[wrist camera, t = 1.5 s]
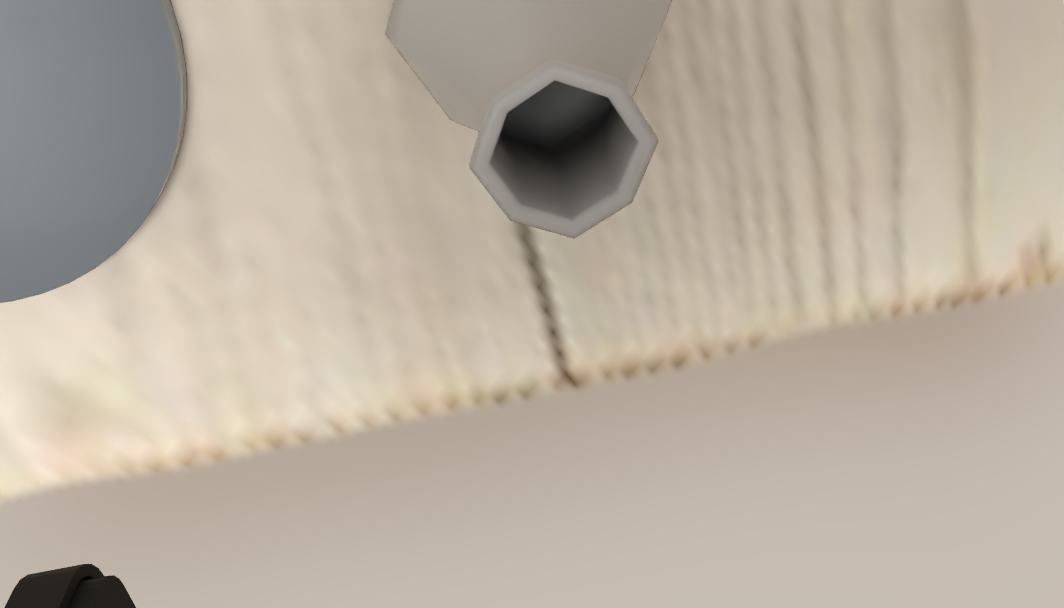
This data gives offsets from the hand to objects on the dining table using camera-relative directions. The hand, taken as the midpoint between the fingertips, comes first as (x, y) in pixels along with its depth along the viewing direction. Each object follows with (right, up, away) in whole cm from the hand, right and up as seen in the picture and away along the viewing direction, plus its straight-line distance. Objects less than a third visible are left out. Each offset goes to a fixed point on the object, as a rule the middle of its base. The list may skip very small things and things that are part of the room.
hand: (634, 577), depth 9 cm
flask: (-1, +10, +17) cm, 20 cm away
